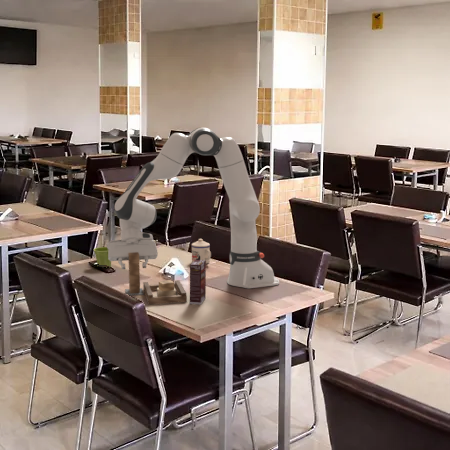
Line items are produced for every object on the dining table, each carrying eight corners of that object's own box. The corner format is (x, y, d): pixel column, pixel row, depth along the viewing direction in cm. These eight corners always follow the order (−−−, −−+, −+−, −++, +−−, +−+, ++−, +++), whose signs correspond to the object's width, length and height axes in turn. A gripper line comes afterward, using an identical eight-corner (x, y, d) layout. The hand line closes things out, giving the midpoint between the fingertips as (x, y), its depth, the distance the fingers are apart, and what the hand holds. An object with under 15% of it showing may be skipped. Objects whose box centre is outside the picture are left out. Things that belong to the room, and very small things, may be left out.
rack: (179, 287, 279) (179, 279, 279) (186, 302, 260) (186, 293, 259) (143, 289, 276) (143, 281, 275) (148, 304, 257) (148, 295, 256)
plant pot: (90, 268, 310) (90, 250, 308) (99, 263, 319) (98, 246, 317) (109, 270, 308) (108, 251, 306) (117, 265, 317) (116, 247, 315)
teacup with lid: (187, 262, 323) (187, 238, 321) (202, 259, 329) (202, 236, 326) (202, 266, 314) (202, 242, 312) (217, 263, 320) (217, 240, 317)
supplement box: (201, 305, 256) (201, 265, 253) (189, 304, 257) (189, 264, 254) (206, 298, 265) (206, 259, 262) (194, 297, 266) (194, 259, 263)
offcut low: (174, 296, 268) (174, 286, 267) (175, 300, 263) (175, 290, 262) (157, 297, 267) (157, 287, 266) (158, 301, 262) (158, 291, 261)
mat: (142, 289, 277) (142, 288, 277) (143, 294, 269) (143, 293, 269) (125, 290, 275) (125, 289, 275) (126, 295, 268) (126, 294, 268)
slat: (138, 289, 275) (138, 252, 272) (139, 292, 270) (139, 254, 267) (129, 290, 274) (128, 252, 271) (130, 293, 270) (129, 255, 267)
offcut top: (170, 287, 267) (170, 280, 266) (174, 289, 263) (174, 282, 263) (158, 288, 264) (158, 281, 264) (162, 291, 261) (162, 284, 260)
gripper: (106, 236, 272) (108, 265, 265) (156, 234, 277) (159, 262, 269) (106, 244, 278) (108, 273, 270) (155, 242, 282) (158, 270, 274)
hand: (134, 268), depth 270 cm, fingers open, 7 cm apart
